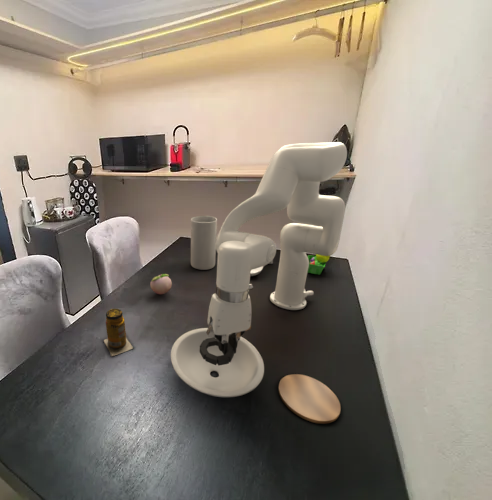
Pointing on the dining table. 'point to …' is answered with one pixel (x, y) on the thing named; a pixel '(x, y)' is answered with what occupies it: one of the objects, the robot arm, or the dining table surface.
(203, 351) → the ring
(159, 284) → the decorative fruit
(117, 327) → the condiment
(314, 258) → the fruit basket
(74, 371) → the dining table surface
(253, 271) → the spoon rest
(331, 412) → the coaster
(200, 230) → the cylinder vase
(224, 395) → the white sink bowl
